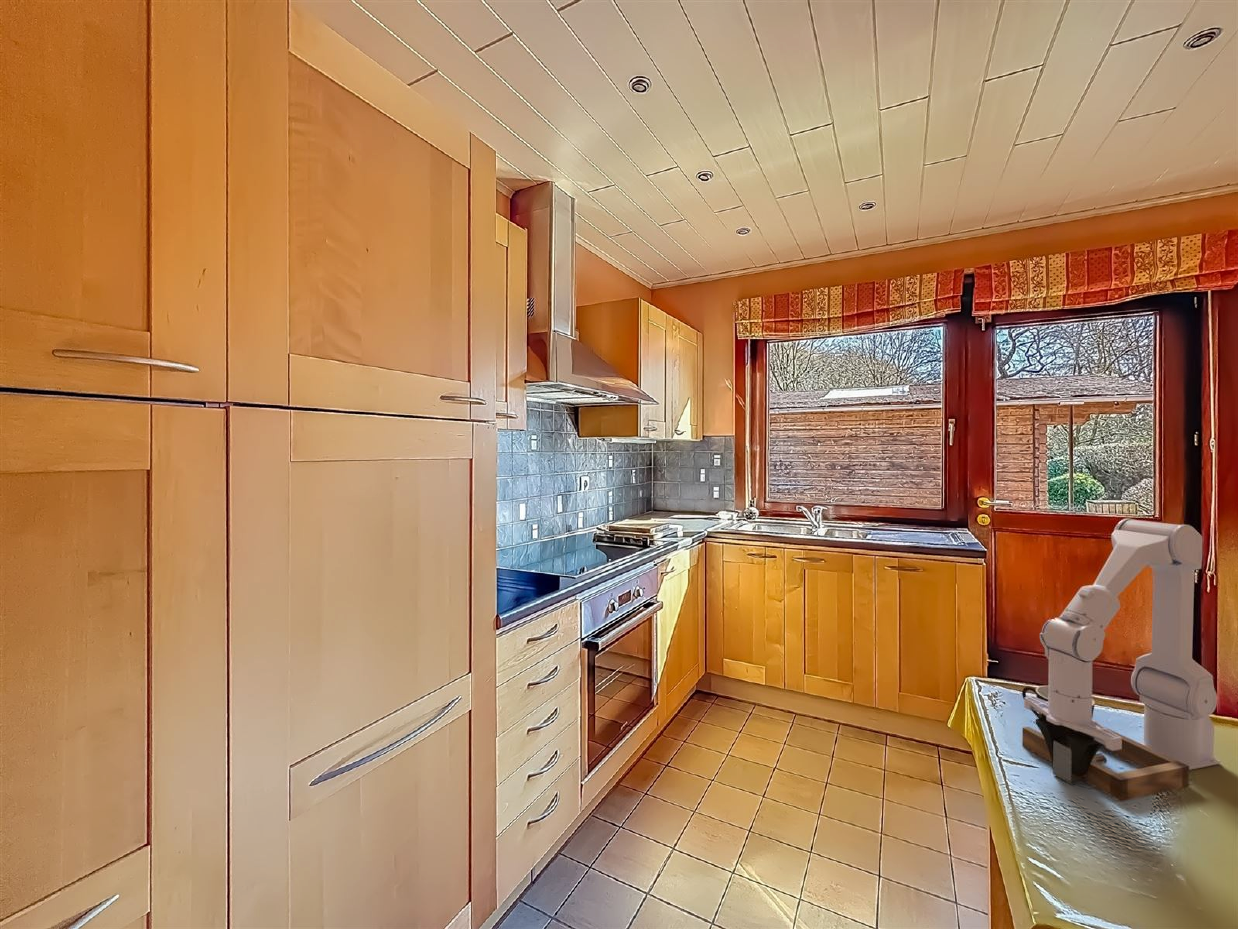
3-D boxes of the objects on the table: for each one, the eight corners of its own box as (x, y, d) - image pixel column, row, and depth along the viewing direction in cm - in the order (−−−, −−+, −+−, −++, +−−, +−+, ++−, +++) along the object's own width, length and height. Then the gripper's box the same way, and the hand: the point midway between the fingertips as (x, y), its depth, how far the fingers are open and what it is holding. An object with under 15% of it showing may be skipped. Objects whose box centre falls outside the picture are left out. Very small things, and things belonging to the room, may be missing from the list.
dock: (1083, 734, 105) (1083, 717, 105) (1188, 786, 89) (1189, 766, 89) (1022, 745, 102) (1022, 727, 102) (1120, 801, 86) (1120, 780, 86)
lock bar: (1092, 766, 95) (1092, 733, 95) (1111, 776, 92) (1111, 742, 92) (1053, 774, 93) (1053, 740, 93) (1071, 784, 90) (1071, 750, 90)
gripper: (1011, 675, 97) (1010, 748, 98) (1098, 714, 83) (1097, 799, 84) (1041, 671, 99) (1041, 742, 99) (1132, 708, 85) (1131, 791, 85)
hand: (1068, 768), depth 92 cm, fingers closed on lock bar, 3 cm apart
